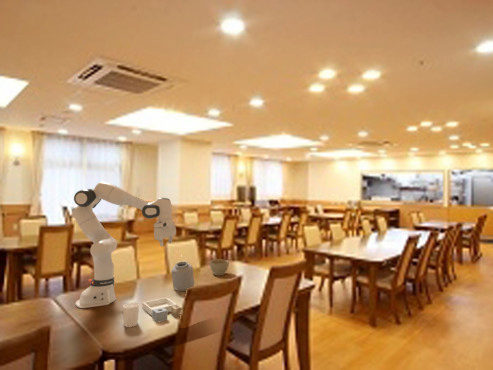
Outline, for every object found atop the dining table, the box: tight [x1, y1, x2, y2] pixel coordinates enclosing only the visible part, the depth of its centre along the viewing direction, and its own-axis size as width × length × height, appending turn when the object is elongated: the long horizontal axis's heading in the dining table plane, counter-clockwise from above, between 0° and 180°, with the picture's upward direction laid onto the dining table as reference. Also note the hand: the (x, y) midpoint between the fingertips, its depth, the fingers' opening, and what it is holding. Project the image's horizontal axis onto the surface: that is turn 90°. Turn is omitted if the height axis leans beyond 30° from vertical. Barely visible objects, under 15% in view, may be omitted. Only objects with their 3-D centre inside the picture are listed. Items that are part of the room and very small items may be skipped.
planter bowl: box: [209, 258, 230, 276], centre depth 268 cm, size 16×16×11 cm
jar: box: [170, 253, 195, 292], centre depth 225 cm, size 19×15×25 cm
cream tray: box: [142, 297, 178, 317], centre depth 187 cm, size 15×15×4 cm
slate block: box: [151, 307, 168, 323], centre depth 173 cm, size 6×6×5 cm
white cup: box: [122, 302, 140, 328], centre depth 166 cm, size 8×8×10 cm
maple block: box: [170, 304, 183, 318], centre depth 179 cm, size 4×4×4 cm
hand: (166, 244), depth 204 cm, fingers open, 8 cm apart
